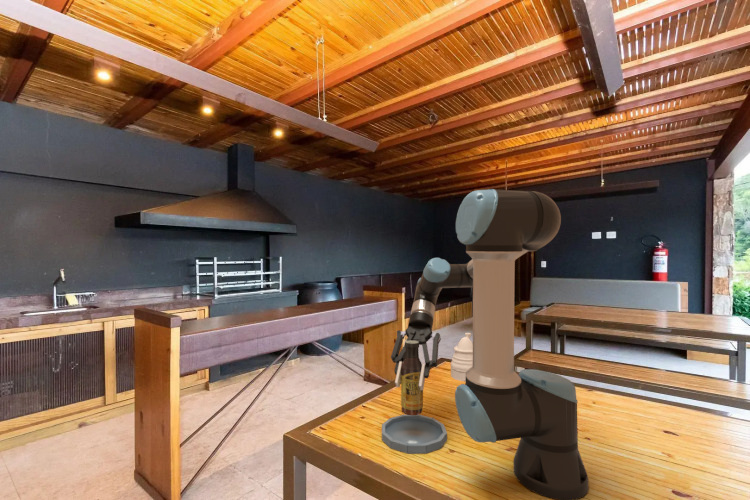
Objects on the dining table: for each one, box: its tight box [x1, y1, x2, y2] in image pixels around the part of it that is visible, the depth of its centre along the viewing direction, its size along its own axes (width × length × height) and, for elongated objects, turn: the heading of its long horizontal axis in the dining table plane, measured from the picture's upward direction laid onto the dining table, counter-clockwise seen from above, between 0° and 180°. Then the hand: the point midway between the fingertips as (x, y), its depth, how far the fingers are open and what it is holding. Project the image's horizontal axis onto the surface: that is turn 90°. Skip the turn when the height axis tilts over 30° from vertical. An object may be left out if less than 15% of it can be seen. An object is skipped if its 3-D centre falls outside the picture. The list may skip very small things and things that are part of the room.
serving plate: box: [381, 414, 448, 455], centre depth 98 cm, size 18×18×2 cm
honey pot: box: [450, 332, 473, 382], centre depth 148 cm, size 13×13×18 cm
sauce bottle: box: [400, 340, 424, 415], centre depth 99 cm, size 6×6×20 cm
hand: (408, 386), depth 95 cm, fingers closed on sauce bottle, 6 cm apart
